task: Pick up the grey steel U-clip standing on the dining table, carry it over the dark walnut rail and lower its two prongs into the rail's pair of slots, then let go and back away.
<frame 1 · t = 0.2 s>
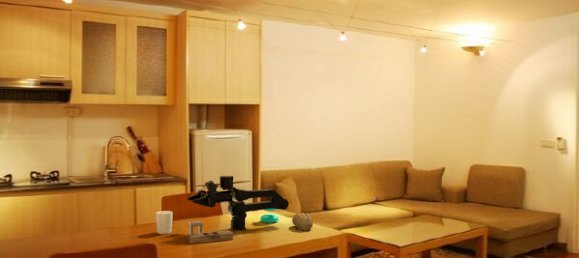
hand: (190, 200, 248), 17 cm above the table, tool horizontal, fingers open, 9 cm apart
rail: (210, 240, 236), on the table
clip: (195, 234, 248), on the table
donuts: (269, 221, 279), on the table
white cup: (164, 232, 251), on the table
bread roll: (302, 228, 263), on the table
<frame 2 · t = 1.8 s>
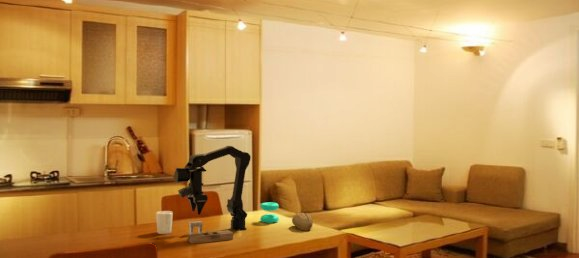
hand: (196, 212, 247), 10 cm above the table, tool pointing down, fingers open, 9 cm apart
nothing on the table moved.
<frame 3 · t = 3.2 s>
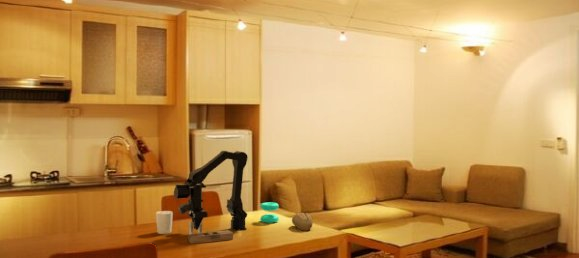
hand: (195, 229, 248), 3 cm above the table, tool pointing down, fingers closed on clip, 2 cm apart
clip: (195, 234, 248), on the table, touching gripper
everything else where it was.
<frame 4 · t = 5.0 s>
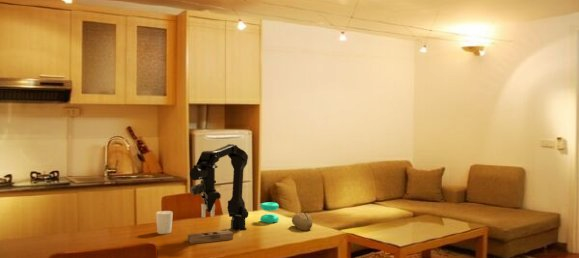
hand: (208, 211, 237), 13 cm above the table, tool pointing down, fingers closed on clip, 2 cm apart
clip: (208, 216, 237), point 11 cm above the table, touching gripper
everything else where it was.
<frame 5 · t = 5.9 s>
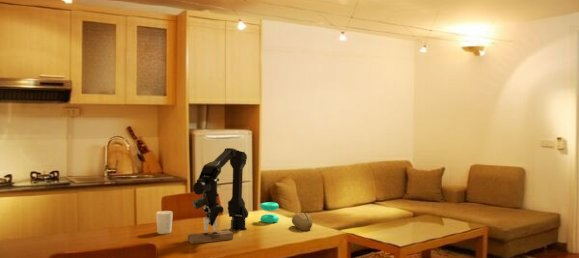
hand: (210, 224, 236), 7 cm above the table, tool pointing down, fingers closed on clip, 2 cm apart
clip: (210, 230, 236), point 5 cm above the table, touching gripper
everything else where it was.
when the fingers open (4 cm above the table, at t = 6.7 s): clip stays where it is, resting on rail.
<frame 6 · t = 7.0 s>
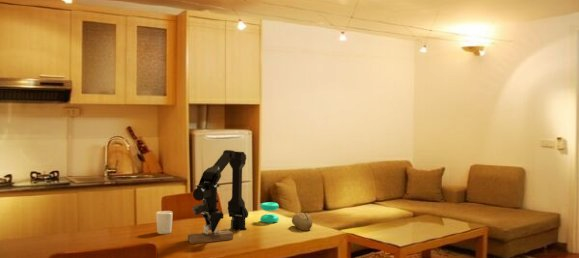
hand: (210, 230, 236), 4 cm above the table, tool pointing down, fingers open, 6 cm apart
clip: (210, 237, 236), point 1 cm above the table, touching rail
everything else where it was.
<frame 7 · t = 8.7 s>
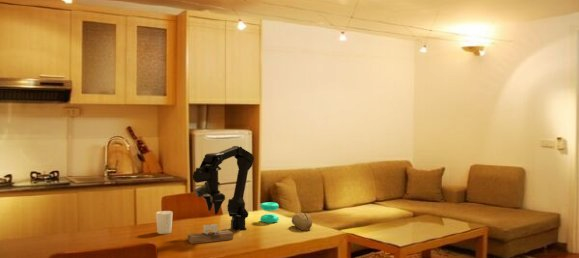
hand: (212, 212, 244), 12 cm above the table, tool pointing down, fingers open, 9 cm apart
nothing on the table moved.
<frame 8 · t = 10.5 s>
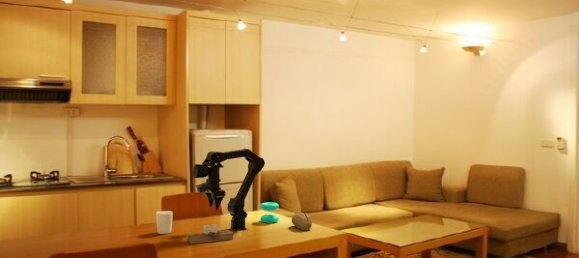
hand: (213, 208, 251), 12 cm above the table, tool pointing down, fingers open, 9 cm apart
nothing on the table moved.
at the end: clip 0.1 cm off-centre on the rail, point 1.0 cm above the rail's base; clip tilted 0°; the gripper is holding nothing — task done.
